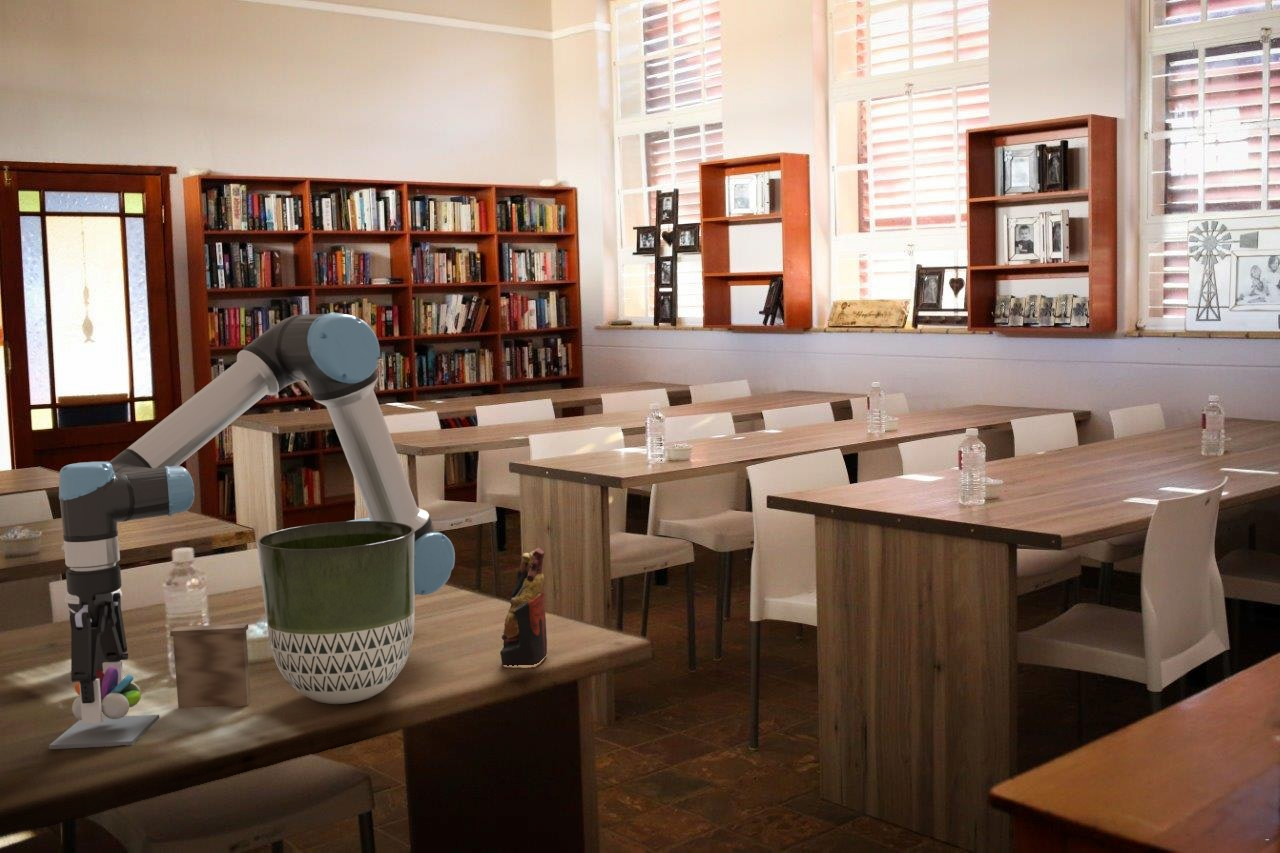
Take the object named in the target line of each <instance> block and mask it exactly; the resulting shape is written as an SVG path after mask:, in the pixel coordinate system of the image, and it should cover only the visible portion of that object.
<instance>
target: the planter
mask: <svg viewBox="0 0 1280 853" xmlns="http://www.w3.org/2000/svg"><path fill="white" fill-rule="evenodd" d="M346 521H347V522H346ZM346 521H334V522H325V523H324V522H322V523H313V524H307V525H306V524H305V525H300V526H294V527H289V528H285V529H280V530H276V531H272V532H270V533H267V534H265V535H262V536H261V537H259V538H258V539H257V542H256V545H257V554H258V555H257V556H258V564H259V570H260V577H261V578H260V579H261V586H262V594H263V603H264V605H263V606H264V610H265V612H264V613H265V617H266V627H267V634H268V640H269V645H270V649H271V653H272V656H273V659H274V661H275V663H276V666H277V668H278V670H279V672H280V674H281V675H282V677H283V678H284V680H286V682H287V684H289V685H290V686H291V687H292V688H293V689H295V690H296V691H297V692H299V693H300V694H301V695H303V696H305V697H307V698H309V699H311V700H313V701H316V702H319V703H324V704H330V705H344V704H353V703H357V702H361V701H364V700H368V699H370V698H372V697H374V696H377V695H378V694H380V693H381V692H383V691H384V690H385V689H386V688H387V687H389V686H390V685H391V684H392V682H394V681H395V679H396V678H397V677H398V676H399V674H401V672H402V670H403V669H404V667H405V665H406V663H407V661H408V659H409V656H410V653H411V649H412V645H413V639H414V638H413V637H414V632H415V596H416V595H415V579H414V566H415V535H414V528H413V527H411V526H409V525H406V524H402V523H396V522H385V521H351V520H346Z"/></svg>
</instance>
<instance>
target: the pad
mask: <svg viewBox="0 0 1280 853" xmlns="http://www.w3.org/2000/svg"><path fill="white" fill-rule="evenodd" d="M102 718H103V722H101V723H91V724H82V720H80V719H78V720H77V722H75V723H74V724H73V725H72V726H71V727H70V728H68V729H67V730H65V731H64V732H63V733H62V734H61V735H60V736H58V737H57V738H56V739H55V740H54V741H52V742H51V743H50V744H49V745H48V748H49V750H59V749H80V748H81V749H82V748H99V747H101V748H103V747H104V746H105V747H117V746H116V745H126V746H133V745H134V744H135V743H136V742H137V741H138V740H139V739H140V738H141V737H142V736H143V735H144V734H145V733H146V732H147V731H148V730H149V729H150V728H151V727H152V726H153V725H155V723H156V722H157V721H159V720H160V714H147V715H143V714H142V715H125V716H123V717H122V718H119V719H110V718H108V717H106V716H104V717H103V716H102ZM134 742H135V743H134ZM132 744H133V745H132ZM114 745H115V746H114Z"/></svg>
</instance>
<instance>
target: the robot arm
mask: <svg viewBox="0 0 1280 853" xmlns="http://www.w3.org/2000/svg"><path fill="white" fill-rule="evenodd" d="M380 351H381V350H380V344H379V339H378V337H377V335H376V333H375V332H374V330H373V329H372V328H371V326H370V325H369V324H368V323H367V322H366V321H365V320H363V319H361V318H359V317H357V316H354V315H351V314H344V313H340V312H328V313H319V314H316V313H315V314H295V315H291V316H290V317H286V318H285V319H283V320H281V321H279V322H277V323H275V325H274V324H273V326H271V327H270V328H268V329H267V330H265V331H264V332H263V333H262V334H260V335H259V336H258V337H257V338H255V339H254V340H253V341H251V342H250V343H248V344H247V345H246V346H245V347H243V349H241V350H240V351H239V352H238V353H237V355H236V362H234V363H233V364H232V365H231V366H229V367H228V368H227V369H226V370H224V371H223V372H222V373H220V374H219V375H218V376H217V377H215V378H214V379H213V380H212V381H210V382H209V383H208V384H206V386H204V387H203V388H201V390H199V391H198V392H196V393H195V394H194V395H193V396H192V397H191V398H189V399H187V400H186V401H185V402H184V403H183V404H181V405H180V406H179V407H178V408H176V409H175V410H173V412H171V413H170V414H169V415H168V416H166V417H165V418H163V419H162V420H161V421H160V422H158V423H157V424H156V425H155V426H154V427H152V428H151V429H150V430H148V431H147V432H146V433H145V434H144V435H142V436H141V437H140V438H138V439H137V440H136V441H134V442H133V443H132V444H131V445H130V446H128V447H127V448H126V449H124V450H123V451H122V452H120V453H119V454H117V455H116V456H115V457H113V458H112V459H111V460H106V461H88V462H86V461H84V462H77V463H71V464H67V465H65V466H63V467H61V469H60V471H59V474H58V489H59V490H58V499H59V504H60V513H61V523H62V524H61V525H62V536H63V537H62V538H63V544H62V545H61V551H63V552H64V559H65V566H66V567H68V569H67V570H66V571H65V577H66V578H65V579H66V591H67V594H68V593H69V594H70V595H73V596H75V595H76V596H77V597H79V608H78V613H71V614H70V613H69V623H70V629H71V631H70V632H71V633H70V634H71V637H70V638H71V642H70V643H71V646H70V647H71V649H70V650H71V651H70V652H71V653H70V654H71V655H70V656H71V658H70V660H71V663H70V668H71V670H70V675H71V676H70V679H71V682H72V683H77V682H79V688H80V695H79V696H80V701H81V714H82V724H91V723H101V722H103V718H102V717H103V712H102V705H101V692H100V679H96V675H97V665H98V654H99V643H100V644H101V647H102V651H103V654H104V657H105V660H106V661H108V662H104V663H102V664H103V673H104V674H105V672H106V670H107V669H108V668H109V667H115V668H116V669H117V670H118V684H119V683H120V682H121V681H122V680H123V679H124V670H123V661H127V660H128V658H129V653H128V652H127V651H128V645H127V639H126V638H127V637H126V632H125V625H124V619H123V614H122V606H121V604H122V602H121V601H122V598H121V597H122V596H121V595H120V593H111V592H114V591H117V590H118V589H120V590H121V588H122V586H123V585H122V575H121V574H122V573H121V566H120V565H119V564H118V562H119V561H120V560H121V554H120V543H119V532H118V530H119V529H118V523H125V522H128V521H135V520H141V519H142V520H143V519H149V518H158V517H164V516H168V517H170V516H173V515H176V514H181V513H185V512H187V511H189V509H191V507H192V506H193V503H194V500H195V484H194V480H193V478H192V476H191V473H190V472H189V470H188V469H186V468H185V467H183V466H181V464H183V463H184V462H185V461H186V460H188V459H189V458H190V457H191V456H193V455H194V454H195V453H196V452H197V451H198V450H200V449H201V448H203V447H204V446H205V445H206V444H208V443H209V442H210V441H211V440H213V438H215V437H216V436H217V435H219V433H221V432H222V431H223V430H225V429H226V428H227V427H228V426H230V425H231V424H232V423H233V422H234V421H236V420H237V419H238V418H239V417H241V416H242V415H243V414H244V413H245V412H247V411H248V410H249V409H250V408H252V407H253V406H254V405H255V404H256V403H258V402H259V401H260V400H262V398H264V397H265V396H266V395H267V396H276V395H277V394H278V393H279V392H281V390H283V389H284V388H286V387H288V386H290V385H292V384H294V383H298V382H301V381H306V383H307V386H308V388H309V390H310V394H311V395H312V397H313V398H312V399H313V400H314V401H315V402H316V403H319V404H321V405H324V406H325V407H326V409H327V412H328V414H329V416H330V419H331V420H330V421H331V422H332V424H333V426H334V429H335V432H336V435H337V437H338V440H339V442H340V446H341V448H342V451H343V453H344V455H345V459H346V460H347V464H348V465H349V468H350V471H351V474H352V476H353V479H354V481H355V483H356V487H357V489H358V491H359V494H360V497H361V499H362V501H363V504H364V507H365V509H366V511H367V514H368V517H364V518H363V517H362V518H358V519H352V520H350V521H385V522H396V523H402V524H406V525H409V526H411V527H413V528H414V535H415V566H414V579H415V596H417V595H418V596H428V595H431V594H434V593H435V592H437V591H439V590H441V588H442V587H444V586H445V585H446V583H447V582H448V581H449V579H450V577H451V573H452V571H453V569H454V568H455V562H456V556H455V555H456V553H455V547H454V545H453V543H452V541H451V540H450V538H448V537H447V536H446V535H445V534H444V533H442V532H439V531H436V530H435V528H434V525H433V522H432V519H431V516H430V514H429V512H428V510H425V509H422V508H420V507H418V505H417V503H416V499H415V497H414V495H413V493H412V490H411V487H410V484H409V481H408V478H407V476H406V474H405V471H404V468H403V466H402V462H401V460H400V457H399V454H398V452H397V449H396V447H395V444H394V442H393V441H394V440H393V439H392V436H391V433H390V430H389V428H388V426H387V422H386V420H385V418H384V414H383V412H382V409H381V406H380V404H379V401H378V398H377V396H376V393H375V391H374V390H375V388H374V387H376V384H377V382H378V380H379V375H378V373H377V370H376V369H377V367H378V364H379V362H378V359H379V358H380V356H381V353H380ZM347 521H348V520H346V521H345V522H347Z"/></svg>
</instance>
